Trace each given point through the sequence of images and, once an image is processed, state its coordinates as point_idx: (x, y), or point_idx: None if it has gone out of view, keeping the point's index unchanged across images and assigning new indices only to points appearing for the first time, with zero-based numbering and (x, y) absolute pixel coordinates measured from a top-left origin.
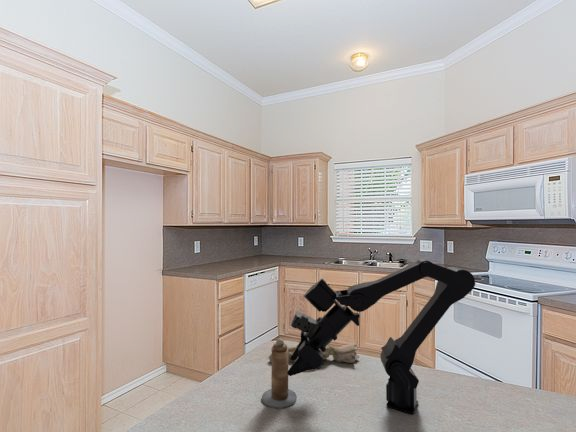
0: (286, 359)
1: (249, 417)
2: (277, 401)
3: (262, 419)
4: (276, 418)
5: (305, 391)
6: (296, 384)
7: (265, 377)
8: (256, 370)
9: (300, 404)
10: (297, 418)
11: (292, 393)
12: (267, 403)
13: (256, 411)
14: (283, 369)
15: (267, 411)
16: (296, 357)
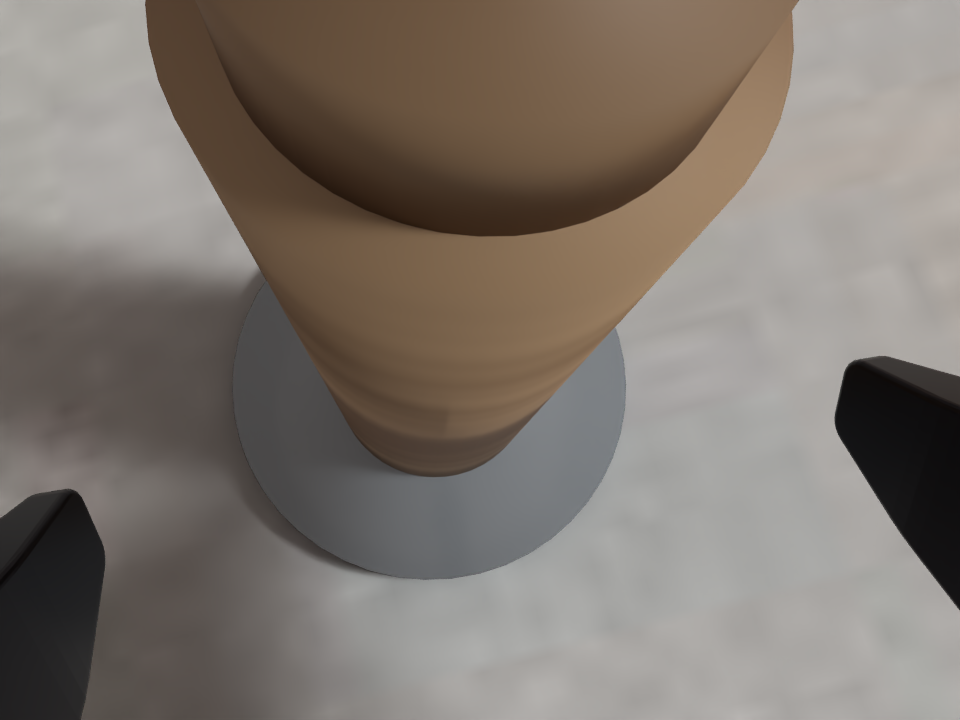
0: (366, 348)
1: (24, 197)
2: (319, 385)
3: (5, 325)
4: (42, 457)
5: (678, 636)
6: (798, 488)
7: (817, 125)
8: (921, 4)
9: (374, 648)
10: None
11: (536, 506)
12: (258, 293)
13: (141, 228)
14: (311, 351)
15: (160, 331)
16: (908, 505)
